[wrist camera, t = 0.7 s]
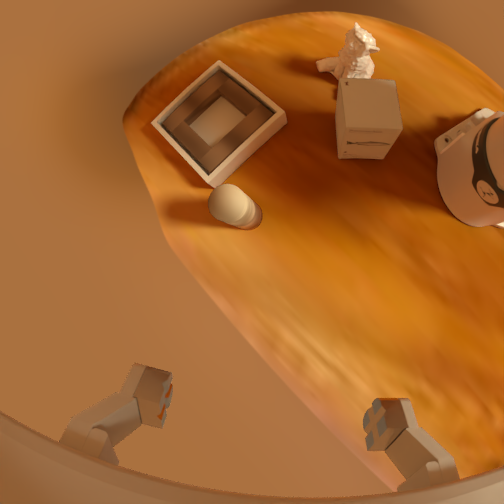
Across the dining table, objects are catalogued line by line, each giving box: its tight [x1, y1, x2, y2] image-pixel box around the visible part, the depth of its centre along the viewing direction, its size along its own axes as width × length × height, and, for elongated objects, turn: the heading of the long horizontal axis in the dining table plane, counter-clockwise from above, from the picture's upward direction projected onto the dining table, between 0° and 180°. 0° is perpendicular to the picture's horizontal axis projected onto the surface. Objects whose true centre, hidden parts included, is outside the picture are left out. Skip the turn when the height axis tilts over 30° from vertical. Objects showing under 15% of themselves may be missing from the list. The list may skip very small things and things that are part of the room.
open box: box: [151, 60, 288, 188], centre depth 47 cm, size 16×16×4 cm
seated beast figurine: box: [316, 22, 380, 80], centre depth 39 cm, size 10×9×12 cm
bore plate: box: [162, 71, 274, 173], centre depth 47 cm, size 13×13×2 cm
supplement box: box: [335, 78, 403, 159], centre depth 39 cm, size 7×7×13 cm
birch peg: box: [208, 184, 262, 230], centre depth 42 cm, size 4×4×12 cm
